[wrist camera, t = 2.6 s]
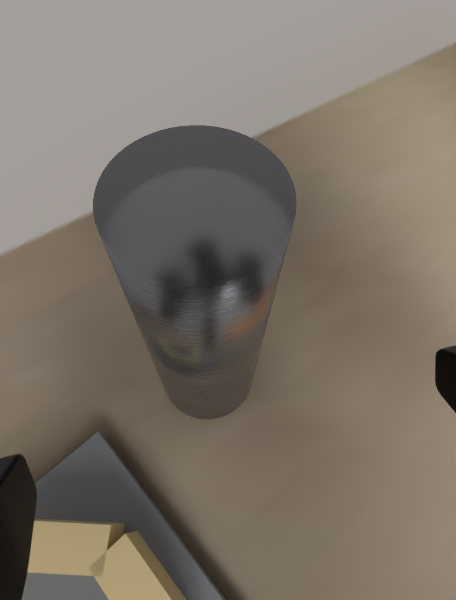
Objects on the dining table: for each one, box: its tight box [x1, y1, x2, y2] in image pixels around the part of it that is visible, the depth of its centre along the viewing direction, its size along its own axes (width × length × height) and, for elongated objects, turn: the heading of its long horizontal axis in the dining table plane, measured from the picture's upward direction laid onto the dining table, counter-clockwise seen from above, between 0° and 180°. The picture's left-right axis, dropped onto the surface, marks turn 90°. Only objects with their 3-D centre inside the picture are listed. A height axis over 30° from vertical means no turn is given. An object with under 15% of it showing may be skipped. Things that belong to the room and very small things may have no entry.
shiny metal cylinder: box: [93, 125, 296, 419], centre depth 15 cm, size 4×4×13 cm
